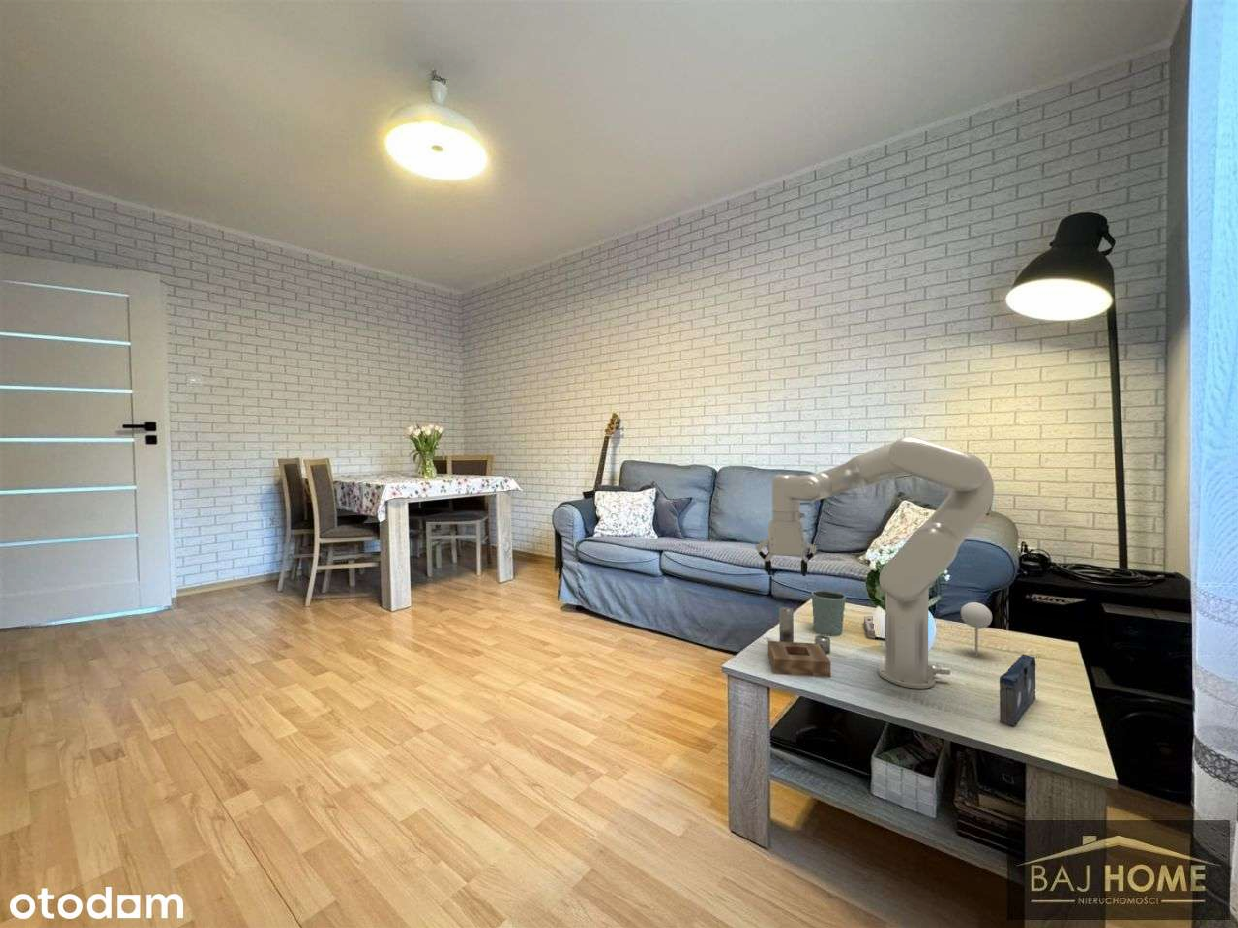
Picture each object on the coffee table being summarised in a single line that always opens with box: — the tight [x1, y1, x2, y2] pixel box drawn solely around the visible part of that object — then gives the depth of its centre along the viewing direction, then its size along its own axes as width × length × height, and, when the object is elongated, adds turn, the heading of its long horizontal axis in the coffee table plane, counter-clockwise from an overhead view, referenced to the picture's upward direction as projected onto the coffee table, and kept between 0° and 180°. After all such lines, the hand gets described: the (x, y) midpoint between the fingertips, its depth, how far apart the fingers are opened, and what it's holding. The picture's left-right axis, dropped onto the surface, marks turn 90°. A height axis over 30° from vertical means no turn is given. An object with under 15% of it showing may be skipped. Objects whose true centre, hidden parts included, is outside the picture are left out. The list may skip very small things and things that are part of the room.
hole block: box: [767, 640, 832, 678], centre depth 130 cm, size 14×12×4 cm
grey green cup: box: [811, 589, 847, 637], centre depth 154 cm, size 10×10×12 cm
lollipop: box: [960, 601, 993, 657], centre depth 134 cm, size 7×7×15 cm
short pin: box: [814, 634, 831, 655], centre depth 139 cm, size 4×4×4 cm
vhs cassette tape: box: [999, 654, 1037, 728], centre depth 106 cm, size 18×3×10 cm, turn 127°
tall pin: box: [778, 606, 795, 642], centre depth 140 cm, size 4×4×12 cm
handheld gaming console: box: [863, 615, 876, 640], centre depth 153 cm, size 9×4×15 cm
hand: (785, 574), depth 140 cm, fingers open, 9 cm apart
